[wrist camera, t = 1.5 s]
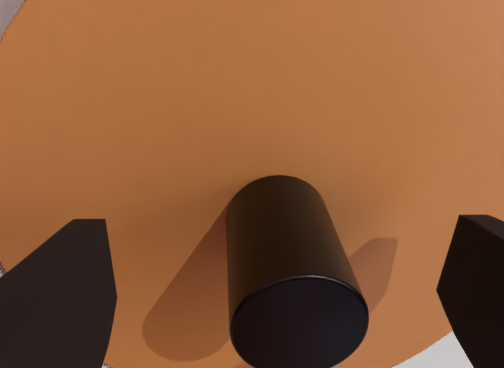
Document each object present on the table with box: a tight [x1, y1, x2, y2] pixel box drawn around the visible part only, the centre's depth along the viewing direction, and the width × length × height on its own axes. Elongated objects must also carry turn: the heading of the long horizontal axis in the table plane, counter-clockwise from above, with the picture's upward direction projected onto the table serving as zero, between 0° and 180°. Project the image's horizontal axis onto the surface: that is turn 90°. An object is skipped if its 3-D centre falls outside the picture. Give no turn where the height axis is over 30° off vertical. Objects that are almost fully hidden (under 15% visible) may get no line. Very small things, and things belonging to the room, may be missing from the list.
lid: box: [0, 0, 504, 368], centre depth 9 cm, size 14×14×5 cm
